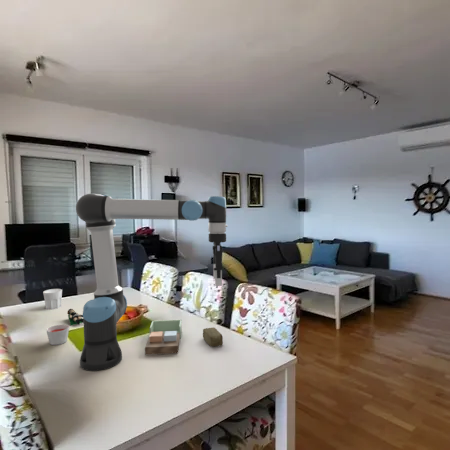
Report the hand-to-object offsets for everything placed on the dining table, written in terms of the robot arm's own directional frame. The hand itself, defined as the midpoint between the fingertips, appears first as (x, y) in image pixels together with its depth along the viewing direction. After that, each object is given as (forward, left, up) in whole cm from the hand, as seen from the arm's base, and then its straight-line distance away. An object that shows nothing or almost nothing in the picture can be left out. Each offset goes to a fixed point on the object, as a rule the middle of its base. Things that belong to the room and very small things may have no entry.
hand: (217, 282), depth 140 cm
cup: (-96, +63, -27) cm, 117 cm away
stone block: (-2, +1, -27) cm, 27 cm away
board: (-23, -2, -27) cm, 35 cm away
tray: (-23, +10, -27) cm, 37 cm away
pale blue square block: (-20, -1, -24) cm, 31 cm away
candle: (-70, +8, -27) cm, 76 cm away
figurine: (-73, +34, -27) cm, 85 cm away
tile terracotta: (-26, -1, -24) cm, 35 cm away
